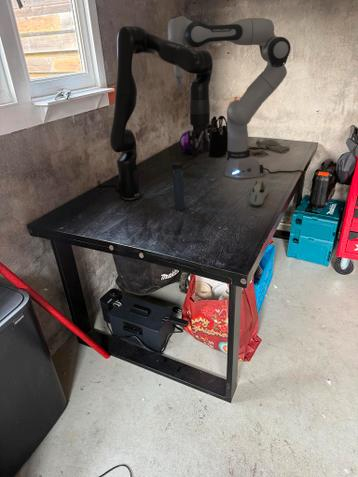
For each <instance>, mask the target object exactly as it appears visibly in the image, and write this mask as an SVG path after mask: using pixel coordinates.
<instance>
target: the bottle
mask: <svg viewBox="0 0 358 477" xmlns="http://www.w3.org/2000/svg"><path fill="white" fill-rule="evenodd" d="M172 180H173V196H174V209H175V211H180V212H181V211H184V210H185V208H186V206H185V187H184V186H185V185H184V184H185V183H184V173H183V170H182V169H173V173H172Z"/></svg>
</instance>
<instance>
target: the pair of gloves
mask: <svg viewBox="0 0 358 477" xmlns="http://www.w3.org/2000/svg"><path fill="white" fill-rule="evenodd" d="M255 145H257V146H253V145H248V147H247V149H249V150H251V151H252V152H253V154H252V155H250V156H252V157H254V156H258V155H265V156H268V155H269V153H268V152H267V151H266V150H271V151H274V152H277V153H279V154H280V153H281V154H283V153H287V152H289V151H290V150H291V147H289V146H283V145H281V144H280V143H279V142H277V141H276V140H274V139H271V138H270V139H265V140H262V141H260V140H258V139H257V140H256V142H255Z"/></svg>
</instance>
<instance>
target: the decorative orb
mask: <svg viewBox="0 0 358 477" xmlns="http://www.w3.org/2000/svg"><path fill="white" fill-rule="evenodd" d="M188 131H189V130H187V131H185V132H184V133H182V135H181V136H180V138H179V140H178V141H179V142H178V143H179V148H180V149H181V150H182V151H183V153H185V154H192V147H188ZM195 139H196V138H195ZM191 142H192V141H191ZM195 144H196V142H195ZM201 145H202V140H201V141H200V142H199V143H198V146H197V148H198V150H199V149H200V147H201Z"/></svg>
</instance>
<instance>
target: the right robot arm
mask: <svg viewBox="0 0 358 477" xmlns="http://www.w3.org/2000/svg"><path fill="white" fill-rule="evenodd" d="M167 40H168V41H172V42H175V43H178V44H181V45H184V46H186V47H187V48H188V46H189V47H192V48H201V47H202V46H204V45H205V44H207V43H214V42H230V43H233V44H234V45H238V46H258V47H259V50H260V52H259V53H260V56H261V58H262V59H263V60H264V62H266V66H265V68H264V69H263V71H261V73H260V74H259V75H258V76H257V77H256V78H255V79H254V80H253V81H252V82H251V83H250V85H249V86H247V88H246V90H245V92H244V93H243V95H242V96H241V97H240V99H239V100H237V99H235V100H233V101H231V102H230V103H229V104H228V106H227V108H226V121H227V131H228V148H227V152H226V154H225V159H226V165H225V169H224V172H223V174H224V176H225V177H228V178H232V179H233V178H234V179H237V180H243V179H250V178H258V177H259V178H260V177H263V176H264V175H265V172H264V170H265V171H267V172H268V173H269V174H277V173H298V172H300V173H302V174H305V171H304V170H301V169H297V170H295V169H294V170H277V171H270V169H268V168H265V167H264V165H263V164H260V162H259V161H258V160H257V159H256V158H255V157H254V156H251V155H252V154H253V152H252V151H251V150H249V149H247V147H248V146H249V144H248V143H249V132H248V124H249V123H250V122H251V120H252V118H253V117H254V116H255V114H256V113H257V112H258V110H259V109H260V107H261V106H262V105H263V103H264V102H265V101H266V100H268V98H269V97H270V96H272V94H273V93H274V92H275V91H276V90H277V89H278V88H279V87H280V85H281V83H282V82H283V81H284V79H285V78H286V76H287V73H288V71H287V70H288V69H287V67H286V66H285V65H286V64H287V61H288V58H289V56H290V53H291V50H292V48H291V43H290V41H289V40H288V39H287V38H286V37H284V36H276V34H275V25H274V22H273V21H272V20H271V19H270V18H263V17H247V18H241V19H237V20H235V21H233V22H231V23H227V24H213V25H211V24H206V23H204V22H202V21H199V20H195V21H192V20H191V19H188V18H187V17H185V15H183V14H182V15H176V16H173V17H171V18H170V19H169V20H168V23H167ZM173 69H174V75H175V79H176V81H177V82H176V83H177V88H178V89H180V88H182V86H183V85H182V81H183V80H182V79H183V78H184V70H183V69H182V68H180V67H179V66H175V65H173Z"/></svg>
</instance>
